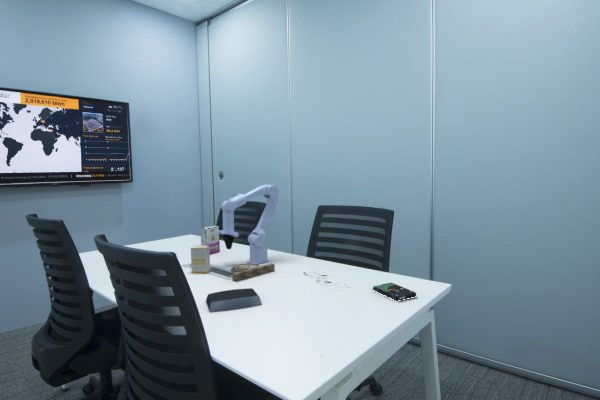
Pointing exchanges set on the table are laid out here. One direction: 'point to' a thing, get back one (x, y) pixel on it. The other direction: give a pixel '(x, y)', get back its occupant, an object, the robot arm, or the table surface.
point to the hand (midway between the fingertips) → (229, 248)
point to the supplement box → (200, 259)
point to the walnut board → (253, 272)
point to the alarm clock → (242, 267)
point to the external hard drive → (232, 300)
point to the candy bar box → (210, 238)
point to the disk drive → (394, 291)
